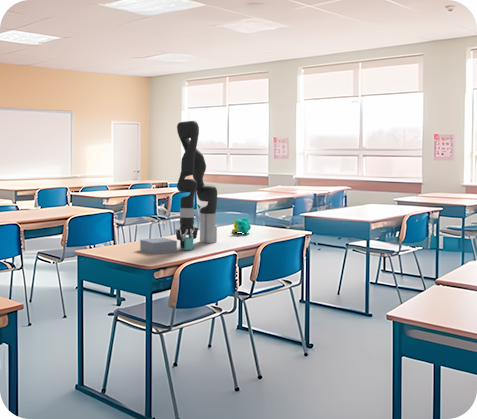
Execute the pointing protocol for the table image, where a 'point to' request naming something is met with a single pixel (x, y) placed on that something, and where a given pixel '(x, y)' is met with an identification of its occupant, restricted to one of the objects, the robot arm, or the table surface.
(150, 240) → the slate block
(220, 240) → the table surface
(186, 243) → the teal block
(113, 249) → the table surface
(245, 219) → the teal lumpy shape
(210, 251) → the table surface
